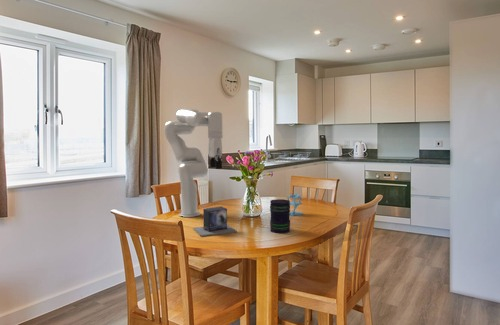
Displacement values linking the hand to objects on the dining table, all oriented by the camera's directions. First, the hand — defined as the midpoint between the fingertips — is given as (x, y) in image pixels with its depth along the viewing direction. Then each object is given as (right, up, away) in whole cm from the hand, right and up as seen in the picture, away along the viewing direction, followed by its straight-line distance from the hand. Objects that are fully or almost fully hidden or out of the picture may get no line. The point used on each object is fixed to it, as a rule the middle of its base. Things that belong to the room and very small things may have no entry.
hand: (215, 167), depth 192 cm
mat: (0, -31, -12) cm, 33 cm away
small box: (+1, -31, -12) cm, 33 cm away
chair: (+44, -28, +23) cm, 58 cm away
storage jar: (+33, -31, -13) cm, 47 cm away
